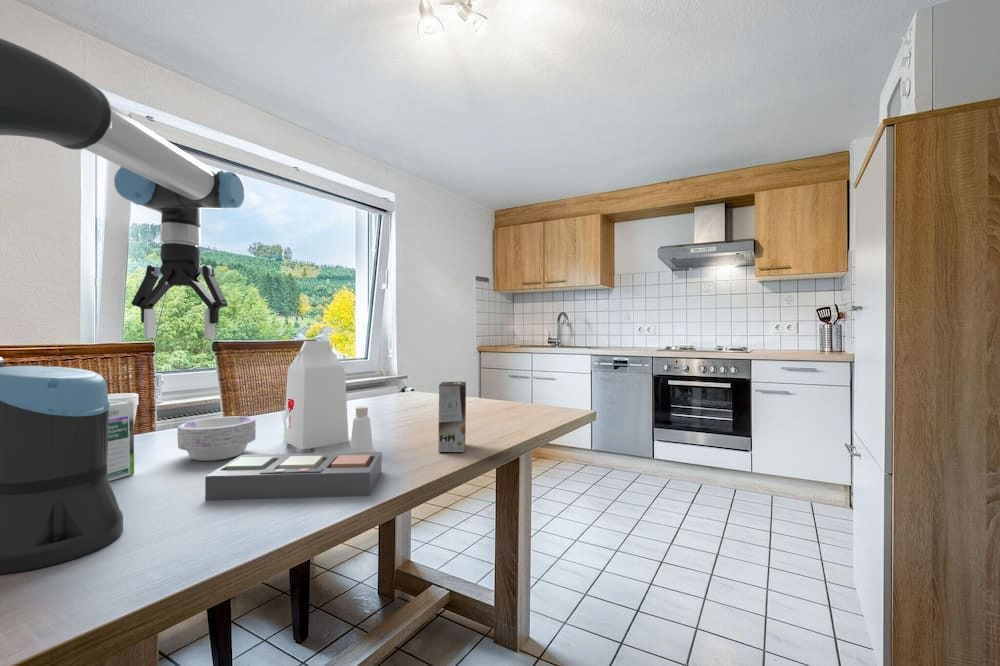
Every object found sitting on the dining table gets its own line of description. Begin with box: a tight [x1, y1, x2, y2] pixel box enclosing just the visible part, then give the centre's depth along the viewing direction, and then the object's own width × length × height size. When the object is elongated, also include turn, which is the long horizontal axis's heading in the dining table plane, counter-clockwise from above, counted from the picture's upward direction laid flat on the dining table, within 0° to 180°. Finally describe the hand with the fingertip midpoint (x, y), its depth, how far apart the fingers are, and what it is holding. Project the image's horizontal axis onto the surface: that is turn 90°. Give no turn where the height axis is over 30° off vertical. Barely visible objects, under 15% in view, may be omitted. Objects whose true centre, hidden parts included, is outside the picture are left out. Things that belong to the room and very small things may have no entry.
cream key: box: [279, 456, 323, 469], centre depth 87 cm, size 6×6×2 cm
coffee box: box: [437, 381, 467, 453], centre depth 115 cm, size 9×6×16 cm
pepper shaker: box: [349, 405, 374, 453], centre depth 109 cm, size 5×5×11 cm
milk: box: [283, 340, 350, 450], centre depth 121 cm, size 12×12×26 cm
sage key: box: [226, 457, 274, 470], centre depth 86 cm, size 6×6×2 cm
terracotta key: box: [331, 455, 371, 468], centre depth 88 cm, size 6×6×2 cm
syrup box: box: [107, 401, 135, 482], centre depth 90 cm, size 6×6×14 cm
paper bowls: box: [176, 415, 257, 462], centre depth 106 cm, size 15×15×8 cm
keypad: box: [204, 451, 382, 501], centre depth 87 cm, size 14×27×4 cm, turn 96°
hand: (179, 338), depth 107 cm, fingers open, 13 cm apart
